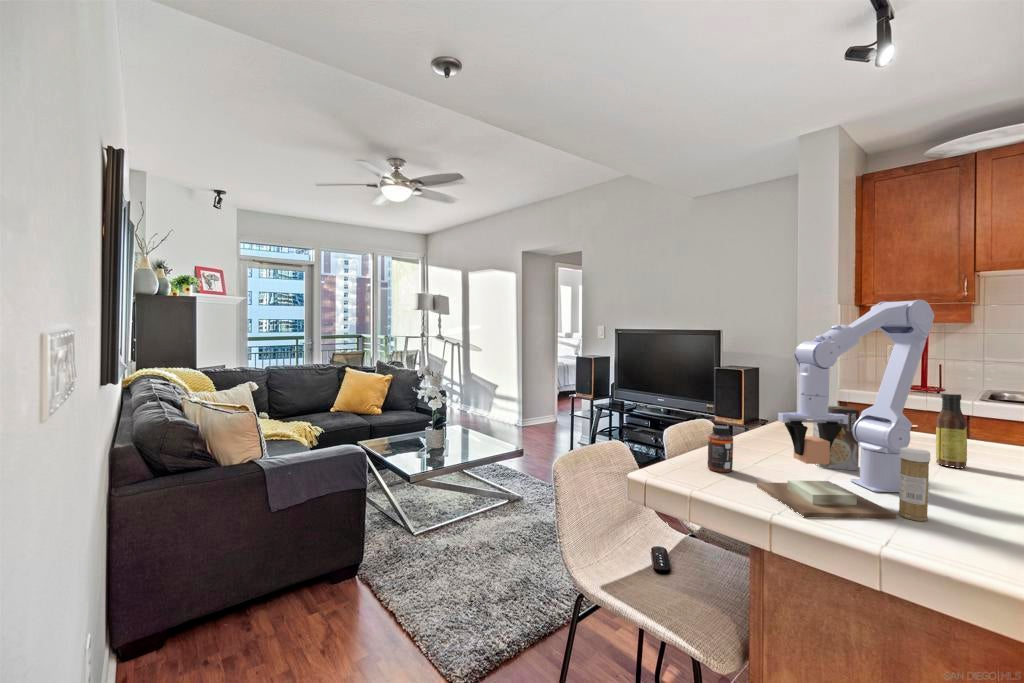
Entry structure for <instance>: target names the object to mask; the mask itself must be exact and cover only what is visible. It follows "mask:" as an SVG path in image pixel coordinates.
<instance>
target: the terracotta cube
mask: <svg viewBox="0 0 1024 683" xmlns="http://www.w3.org/2000/svg"><path fill="white" fill-rule="evenodd" d="M829 456H830V442H829V441H827V440H824V439H821V438H819V437H813V435H812V436H808V435H807V436H806V435H805V441H804V453H803V455H798V454H796V453H795V450H794V449H793V459H796V460H798V461H800V462H802V463H804V464H807V465H816V464H829Z"/></svg>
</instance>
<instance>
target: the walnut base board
mask: <svg viewBox="0 0 1024 683" xmlns="http://www.w3.org/2000/svg"><path fill="white" fill-rule="evenodd" d="M756 487H757V488H758V487H759V488H758V489H760V488H761V489H762V490H761V489H760V490H761V491H763V490H764V491H765V492H764V491H763V492H764V493H766V492H767V493H768V494H767V493H766V494H767V495H769V494H770V495H771V497H772V496H773V497H775V498H776V499H778V500H779V501H781V502H782V503H784V504H786V505H787V506H789V507H790V508H792V509H793V510H795V511H796V512H798V513H799V514H801V515H802V516H804V517H803V518H808V517H833V518H832V519H876V520H877V519H878V520H879V519H880V520H881V519H883V520H884V519H885V520H886V519H887V520H896V519H897V513H896V512H893V511H892V510H889V509H887V508H885V507H883V506H881V505H879V504H877V503H875V502H873V501H872V500H869V499H867V498H865V497H863V496H860V495H858V494H857V493H854V492H852V491H851V490H849V489H847V488H844V487H842V486H840V485H838V484H836V483H833V482H831V481H829V480H791V479H789V480H787V482H766V481H765V482H763V481H762V482H760V481H759V482H758V481H756ZM770 495H769V496H770ZM773 497H772V498H773ZM775 498H774V499H775ZM776 499H775V500H776ZM778 500H777V501H778ZM779 501H778V502H779ZM781 502H780V503H781ZM782 503H781V504H782ZM784 504H783V505H784ZM787 506H786V507H787ZM790 508H789V509H790ZM792 509H791V510H792ZM793 510H792V511H793ZM795 511H794V512H795ZM796 512H795V513H796ZM798 513H797V514H798ZM799 514H798V515H799ZM801 515H800V516H801ZM802 516H801V517H802Z"/></svg>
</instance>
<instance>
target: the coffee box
mask: <svg viewBox="0 0 1024 683" xmlns="http://www.w3.org/2000/svg"><path fill="white" fill-rule="evenodd" d="M828 413H832V414H844V415H848V424H842V423H838V425H841V426H842V430H841V431H840V432H839V434H838V435H837V436H836V438H835V440H834V442H833V444H832V446H831V449H830V456H829V464H817V465H818V466H819V467H818V466H817V465H816V466H817V467H818V468H820V467H825V468H824V469H832V468H835V469H834V470H845V469H847V470H849V471H859V462H860V461H859V460H860V458H859V457H860V456H859V454H860V452H859V450H860V449H859V447H860V446H858V441H856V440H855V438H854V436H853V426H854V424H855V422H856V421H857V420H858V419H859V417H860V409H857V408H855V407H851V406H843V405H828ZM812 425H813V426H812V427H813V428H812V437H819V430H818V426H817V423H812ZM847 470H846V471H847Z"/></svg>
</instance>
